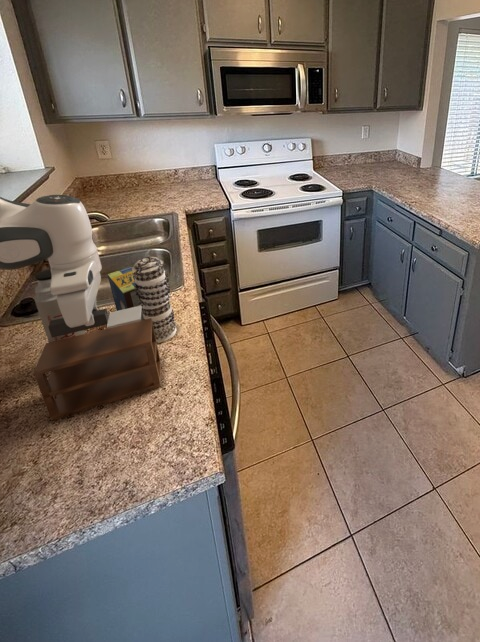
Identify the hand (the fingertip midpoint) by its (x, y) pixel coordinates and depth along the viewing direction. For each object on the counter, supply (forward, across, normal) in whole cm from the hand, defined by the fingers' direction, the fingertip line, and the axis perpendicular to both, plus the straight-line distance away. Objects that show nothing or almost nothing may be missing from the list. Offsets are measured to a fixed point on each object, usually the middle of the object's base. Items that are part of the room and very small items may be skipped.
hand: (91, 319), depth 83 cm
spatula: (+2, 0, 0) cm, 2 cm away
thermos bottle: (+21, -14, -10) cm, 27 cm away
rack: (+21, 0, 0) cm, 21 cm away
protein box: (+21, -28, +6) cm, 35 cm away
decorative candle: (+21, -17, +12) cm, 29 cm away
